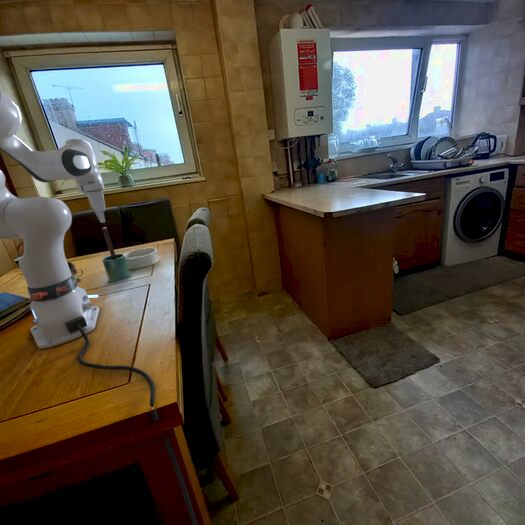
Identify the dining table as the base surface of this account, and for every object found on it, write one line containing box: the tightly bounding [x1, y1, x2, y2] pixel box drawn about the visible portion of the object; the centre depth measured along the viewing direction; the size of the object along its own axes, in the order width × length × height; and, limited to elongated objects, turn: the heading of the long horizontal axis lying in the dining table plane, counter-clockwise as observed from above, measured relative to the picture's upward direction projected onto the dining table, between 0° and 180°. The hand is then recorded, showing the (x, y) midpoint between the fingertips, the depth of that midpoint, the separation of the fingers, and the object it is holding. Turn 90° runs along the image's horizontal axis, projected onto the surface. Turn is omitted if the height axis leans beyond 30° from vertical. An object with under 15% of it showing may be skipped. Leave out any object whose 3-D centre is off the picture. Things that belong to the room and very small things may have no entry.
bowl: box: [123, 246, 160, 270], centre depth 135 cm, size 16×16×6 cm
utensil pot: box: [101, 253, 131, 283], centre depth 119 cm, size 9×9×10 cm
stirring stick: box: [101, 227, 117, 260], centre depth 117 cm, size 3×3×22 cm
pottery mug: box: [67, 261, 77, 274], centre depth 130 cm, size 12×10×8 cm
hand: (101, 221), depth 112 cm, fingers open, 8 cm apart
